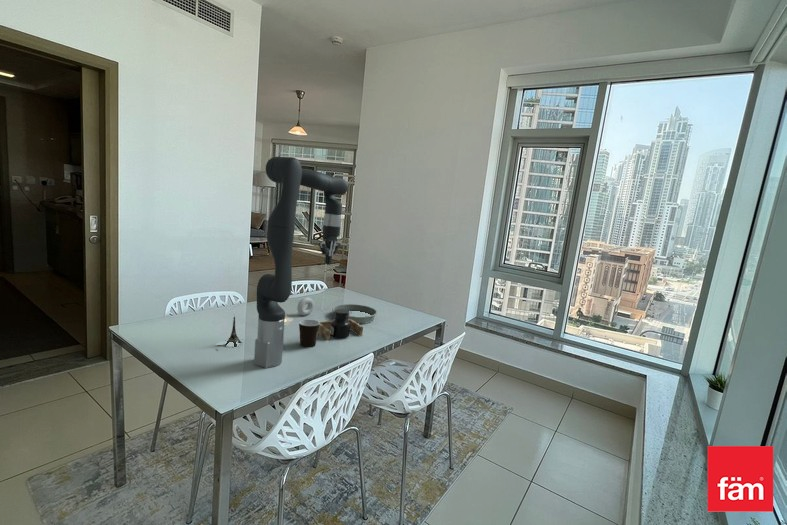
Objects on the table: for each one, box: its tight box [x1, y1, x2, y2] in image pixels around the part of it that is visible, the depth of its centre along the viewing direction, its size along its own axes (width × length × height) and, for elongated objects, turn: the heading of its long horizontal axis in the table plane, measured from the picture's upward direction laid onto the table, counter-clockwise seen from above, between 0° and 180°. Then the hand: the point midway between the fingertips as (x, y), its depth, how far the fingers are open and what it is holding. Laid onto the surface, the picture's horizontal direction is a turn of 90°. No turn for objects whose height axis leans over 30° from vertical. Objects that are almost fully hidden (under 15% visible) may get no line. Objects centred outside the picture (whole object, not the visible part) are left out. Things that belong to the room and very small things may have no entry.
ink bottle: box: [330, 309, 351, 340], centre depth 174 cm, size 10×9×12 cm
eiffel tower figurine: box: [225, 314, 243, 348], centre depth 152 cm, size 15×10×13 cm
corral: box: [318, 319, 364, 341], centre depth 178 cm, size 12×18×4 cm, turn 125°
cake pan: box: [332, 303, 378, 324], centre depth 205 cm, size 25×25×4 cm
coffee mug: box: [298, 318, 321, 349], centre depth 161 cm, size 12×9×10 cm
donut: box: [296, 296, 315, 317], centre depth 199 cm, size 10×4×10 cm, turn 139°
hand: (327, 264), depth 164 cm, fingers closed
